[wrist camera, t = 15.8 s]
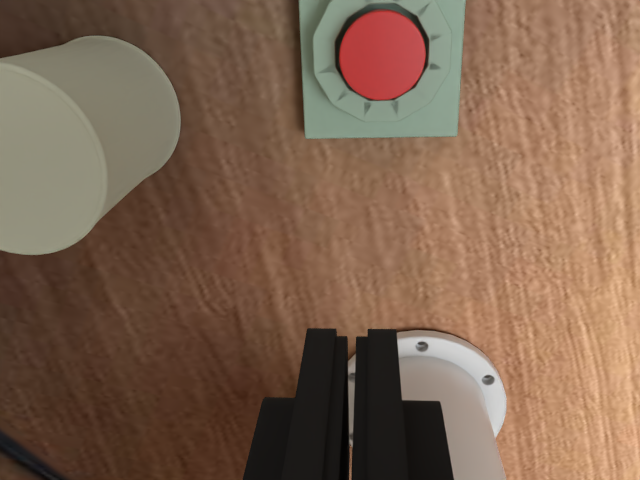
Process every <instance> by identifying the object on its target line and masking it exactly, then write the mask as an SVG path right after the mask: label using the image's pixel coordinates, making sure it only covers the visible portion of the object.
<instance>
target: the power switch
mask: <svg viewBox="0 0 640 480" xmlns="http://www.w3.org/2000/svg"><path fill="white" fill-rule="evenodd" d="M465 2H466V0H299V20H300V42H301V64H302V86H303V108H304V130H305V138H306V139H329V138H393V137H456V136H457V133H458V117H459V101H460V84H461V68H462V51H463V35H464V18H465ZM376 9H389V10H394V11H397V12H399V13H401V14H403V15H405V16H406V17H408V18H409V19H410V20H411V21H412V22H413V23H414V24H415V25H416V27H417V28H418V29H419V31H420V33H421V35H422V37H423V40H424V43H425V49H426V58H425V64H424V68H423V71H422V73H421V75H420V77H419V79H418V80H417V82H416V83H415V84H414V85H413V87H412V88H410V89H409V90H408V91H407V92H405V93H404V94H402V95H400V96H398V97H396V98H393V99H388V100H374V99H369V98H366V97H364V96H362V95H360V94H358V93H357V92H356V91H354V90H353V89H352V88H351V87H350V86H349V84H348V83H347V82H346V80H345V78H344V76H343V74H342V71H341V68H340V63H339V51H340V45H341V42H342V39H343V37H344V35H345V32H346V31H347V29H348V27H349V26H350V25H351V24H352V23H353V22H354V21H355V20H356V19H357V18H358V17H360V16H361V15H363V14H365V13H367V12H369V11H372V10H376Z"/></svg>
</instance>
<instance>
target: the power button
mask: <svg viewBox="0 0 640 480" xmlns="http://www.w3.org/2000/svg"><path fill="white" fill-rule="evenodd" d="M425 58H426V49H425V43H424V40H423V37H422V35H421V33H420V31H419V29H418V28H417V27H416V25H415V24H414V23H413V22H412V21H411V20H410V19H409V18H408V17H406V16H405V15H403V14H401V13H399V12H397V11H394V10H389V9H376V10H372V11H369V12H367V13H365V14H363V15H361V16H360V17H358V18H357V19H356V20H355V21H354V22H353V23H352V24H351V25H350V26H349V27H348V29H347V31H346V32H345V35H344V37H343V39H342V42H341V45H340V51H339V63H340V68H341V71H342V74H343V76H344V78H345V80H346V82H347V83H348V84H349V86H350V87H351V88H352V89H353V90H354V91H356V92H357V93H358V94H360V95H362V96H364V97H366V98H369V99H374V100H388V99H393V98H396V97H398V96H400V95H402V94H404V93H405V92H407V91H408V90H409V89H410V88H412V87H413V85H414V84H415V83H416V82H417V80H418V79H419V77H420V75H421V73H422V71H423V68H424V64H425Z"/></svg>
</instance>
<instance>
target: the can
mask: <svg viewBox="0 0 640 480" xmlns="http://www.w3.org/2000/svg"><path fill="white" fill-rule="evenodd" d="M180 125H181V117H180V108H179V103H178V100H177V96H176V93H175V91H174V89H173V86H172V84H171V82H170V81H169V79H168V77H167V76H166V74H165V73H164V71H163V70H162V69H161V67H160V66H159V65H158V64H157V63H156V62H155V61H154V60H153V59H152V58H151V57H150V56H149V55H147V54H146V53H145V52H144V51H142V50H141V49H139V48H137V47H136V46H134V45H132V44H130V43H128V42H125V41H123V40H120V39H117V38H113V37H108V36H85V37H81V38H77V39H74V40H72V41H69V42H67V43H66V44H64V45H60V46H56V47H51V48H47V49H42V50H38V51H33V52H29V53H24V54H20V55H15V56H10V57H5V58H0V250H3V251H6V252H10V253H16V254H24V255H41V254H48V253H53V252H56V251H59V250H62V249H65V248H67V247H69V246H71V245H73V244H75V243H77V242H78V241H80V240H81V239H82V238H83V237H84V236H86V235H87V234H88V233H89V232H90V231H91V229H92V228H93V227H94V226H95V224H96V223H97V222H98V221H99V220H100V219H101V218H102V217H103V216H104V215H105V214H106V213H107V212H108V211H109V210H110V209H112V208H113V207H114V206H115V205H116V204H117V203H118V202H119V201H120V200H121V199H122V198H124V197H125V196H126V195H127V194H128V193H129V192H130V191H131V190H132V189H133V188H135V187H136V186H137V185H138V184H139V183H140V182H141V181H143V180H144V179H145V178H146V177H148V176H150V175H152V174H153V173H155V172H156V171H158V170H159V169H160V168H161V167H162V166H163V165H164V164H165V163H166V162H167V161H168V159H169V158H170V157H171V155H172V153H173V151H174V149H175V147H176V145H177V142H178V138H179V134H180Z"/></svg>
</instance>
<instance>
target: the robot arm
mask: <svg viewBox="0 0 640 480" xmlns="http://www.w3.org/2000/svg"><path fill="white" fill-rule="evenodd" d="M421 341H423V342H421ZM505 414H506V394H505V390H504V386H503V383H502V380H501V378H500V375H499V373H498V371H497V369H496V368H495V366H494V365H493V363H492V362H491V360H490V359H489V358H488V357H487V356H486V355H485V354H484V353H483V352H482V351H481V350H479V349H478V348H477V347H475V346H473V345H472V344H470V343H469V342H467V341H465V340H463V339H460V338H458V337H455V336H453V335H451V334H446V333H441V332H437V331H426V330H413V331H403V332H398V333H397V331H396V329H368V337H356V354H355V355H354V356H353V357H352V358H351V359H350V360H349V361H348V341H347V336H337V332H336V329H317V328H308V329H307V333H306V339H305V345H304V350H303V356H302V362H301V368H300V374H299V379H298V385H297V391H296V397H295V398H277V397H265V398H264V399H263V401H262V404H261V408H260V412H259V416H258V420H257V424H256V428H255V432H254V436H253V440H252V444H251V448H250V452H249V456H248V460H247V464H246V468H245V472H244V476H243V480H349V444H350V445H351V446H352V447H353V450H352V480H506V476H505V472H504V469H503V465H502V461H501V458H500V454H499V450H498V447H497V443H496V440H495V437H496V436H497V435H498V433H499V431H500V429H501V427H502V425H503V422H504V418H505Z"/></svg>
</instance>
